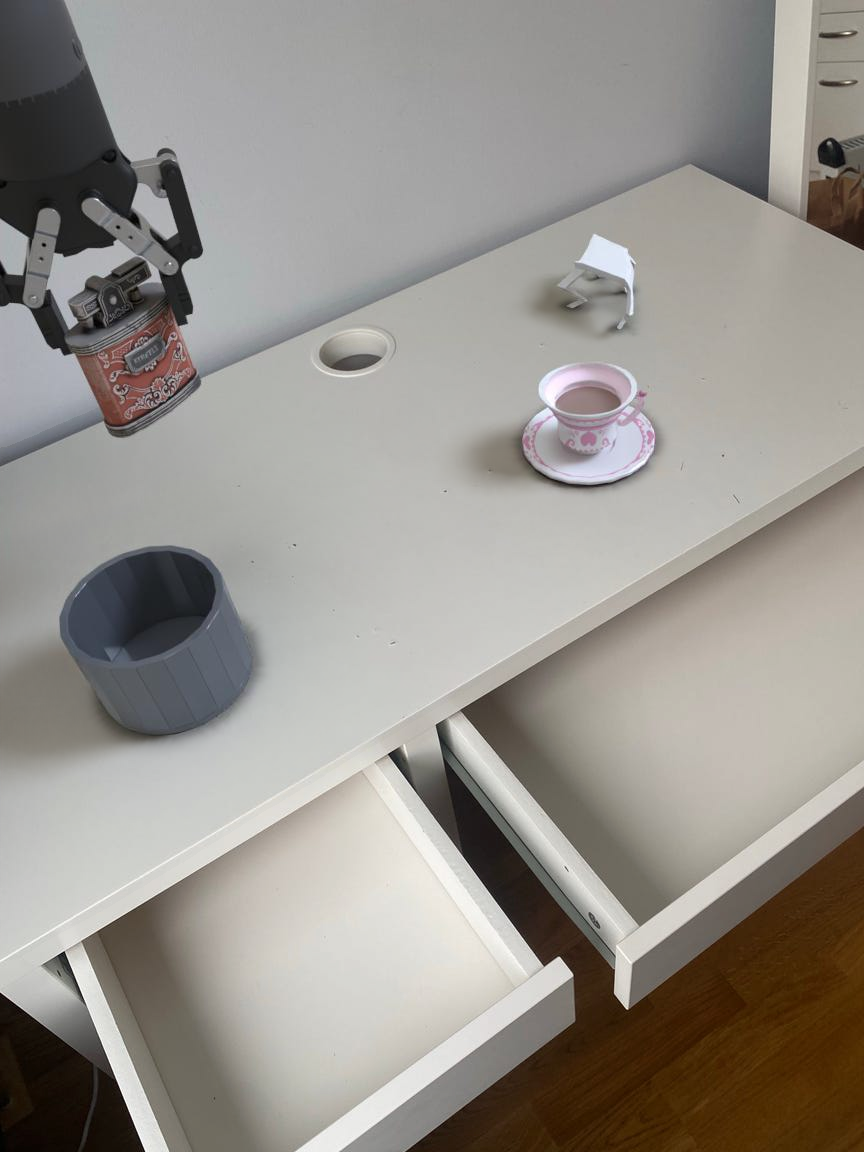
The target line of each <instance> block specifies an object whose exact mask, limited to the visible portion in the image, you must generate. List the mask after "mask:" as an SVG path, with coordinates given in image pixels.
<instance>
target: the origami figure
mask: <svg viewBox="0 0 864 1152" xmlns="http://www.w3.org/2000/svg"><path fill="white" fill-rule="evenodd" d="M573 264H574V267H575V269H573V270H572V271H571V272H570V273H569V274H567V275H566V276H565V277H564V278H563V279H562V280H561V281H559V283H558V284H556V287H557V288H560V289H562V291H565V292H567V293H569V294H571V295H572V296H574V297H576V298H577V299H578V300H575V301H574V302H571V303H569V304H567V305H566V307H567V308H570V309H574V308H576V307H578V306H580V305H582V304H584V303H586V302H588V299H587V298H585V297H584V296H583V295H581V294H580V293H579V292H577V291H576V290H574V288H572V287H570V286H571V285H572V284H573V283H575V282H576V281H577V280H578V279H580V278H581V277H582V276H583V275H584V274H586V273H587V272H589V273H591V274H594V275H596V276H597V277H598V278H604V279H607V280H610V281H612V282H614V283H618V284H620V285H621V288H622V291H623V292H624V293H626V294H627V296H626V298H627V299H626V308H625V309H626V310H625V312H626V313H625V314H624V316H623V318H622V319H621V320H620V322H618V325H617V326H616V329H618V330H621V329H623V327H624V326H625V323H626V322H627V320H628V318H630V317H631V316H632V315H634V278H635V268H636V266H637V263H636V261H635V260H634V259H633V258H632V257H631V255H630V254H629V249H628V247H625V246H622V245H620V244H617V243H615V242H612V241H611V240H608V239H606V238H604V237H601V236H599V235H598V234H596V233H593V234H592V237H591V239H590V241H589V244H588V246H587V248H586V250H585V251H584V253H583V254H582V256H581V258H580V259H579V260H575V261H573ZM626 287H627V288H626Z"/></svg>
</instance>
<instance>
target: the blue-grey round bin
mask: <svg viewBox="0 0 864 1152" xmlns="http://www.w3.org/2000/svg"><path fill="white" fill-rule="evenodd" d="M63 603H64V604H63V606H62V609H61V611H60V613H59V614H60V615H59V621H58V622H59V636H60V639H61V641H62V642H63V644H64V646H65V648H66V649H67V651H68V653H69V655H70V656H71V657H72V659H73V660H74V662H75V664H76V665H77V667H78V668H79V670H80V672H81V673H82V675H83V676H84V678H85V679H86V680H87V682H88V684H89V685H90V687H91V688H92V690H93V692H94V693H95V695H96V696H97V698H98V699H99V700H100V702H101V703H102V705H103V707H104V708H105V710H106V712H107V713H108V714H109V715H110V716H111V717H112V718H113V720H115V722H117V723H118V724H119V725H121V726H123V727H124V728H126V729H128V730H131V731H134V732H136V733H140V734H145V735H154V736H157V735H172V734H178V733H182V732H186V731H189V730H192V729H195V728H197V727H199V726H202V725H203V724H206V723H209V721H212V720H213V719H214V718H217V717H218V716H219V715H220V714H221V713H223V712H224V711H225V710H226V709H227V708H229V707H230V706H232V704H233V703H234V702H235V701H236V699H237V698H238V697H239V696H240V694H241V693H242V692H243V690H244V688H245V687H246V685H247V683H248V681H249V678H250V675H251V671H252V667H253V651H252V647H251V644H250V642H249V637H248V634H247V633H246V630H245V628H244V625H243V623H242V620H241V618H240V616H239V613H238V611H237V608H236V606H235V604H234V601H233V598H232V596H231V594H230V592H229V589H228V587H227V584H226V582H225V579H224V577H223V575H222V572H221V571H220V570H219V568H218V567H217V566H216V564H215V563H214V562H213V561H212V559H211V558H210V557H208V556H205V555H203V554H202V553H200V552H198V551H196V549H195V550H194V549H192V548H188V547H182V546H176V545H174V544H173V545H167V544H166V545H151V546H143V547H140V548H137V549H134V550H130V551H129V550H128V551H126V552H123V553H120V554H118V555H116V556H114V557H113V558H110V559H109V560H106V561H104V562H103V563H100V564H99V565H98V566H96V567H95V568H94V569H93V570H91V571H90V572H88V573H87V574H86V575H85V576H83V577H82V578H81V579H80V580H79V581H78V583H77V584H76V585H75V587H74V588H73V589H72V591H70V593H69V594H68V596H67V597H66V599H65V601H64V602H63Z"/></svg>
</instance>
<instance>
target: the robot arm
mask: <svg viewBox="0 0 864 1152" xmlns="http://www.w3.org/2000/svg"><path fill="white" fill-rule="evenodd" d="M93 77H94V76H93V74H92V72H91V69H90V66H89V63H88V60H87V57H86V55H85V53H84V49H83V44H82V42H81V39H80V38H79V36H78V33H77V31H76V27H75V25H74V22H73V19H72V16H71V14H70V11H69V9H68V6H67V4H66V2H65V0H0V220H1V221H3V222H4V223H6V224H7V225H9V226H10V227H12V228H13V229H15V230H16V231H17V232H19V233H20V234H22V235H23V236H25V237H26V238H27V240H26V249H25V257H24V263H23V264H24V265H23V270H22V274H14V273H13V274H11V273H8V272H7V270H6V268H5V265H4V264H3V262H2V261H1V260H0V308H2V307H7V306H8V305H9V304H19V305H22V306H25V307H26V308H27V309H29V311H30V312H31V314H32V317H33V319H34V321H35V322H36V325H37V327H38V328H39V330H40V333H41V335H42V336H43V339H44V341H45V343H46V345H47V346H49V348H51V349H52V350H57V349H60V352H61V353H62V355H63V357H66V356H69V355H75V354H74V353H72V352H71V351H70V349H69V347H68V345H67V343H66V341H65V338H64V337H65V334H66V333H67V332H68V331H69V330H70V328H69V326H68V324H67V322H66V320H65V318H64V315H63V314H62V311H61V309H60V307H59V305H58V302H57V300H56V299H55V297H54V294H53V292H52V290H51V288H48V287H47V286H48V282H49V279H50V276H51V271H52V266H53V262H54V261H53V260H54V255H55V254H58V255H62V257H63V258H68V257H73V256H76V255H78V254H80V253H82V252H84V251H86V250H88V249H106V248H109V247H113V246H115V242H116V241H117V240H118V241H120V243H122V244H123V245H124V246H125V247H127V249H129V250H130V251H132V252H133V254H135V255H136V256H138V257H142V258H143V259H144V260H146V261H147V262H149V263H150V264H151V265H152V266H153V267H155V269H157V270H158V274H159V279H160V283H162V285H163V287H164V290H165V293H166V295H167V298H168V301H169V304H170V306H171V309H172V312H173V314H174V317H175V320H176V323H177V325H178V326H179V327H181V326H182V327H183V326H185V325H189V321H188V318H187V316H189V315H193V313H194V304H193V300H192V297H191V293H190V290H189V287H188V285H187V282H186V279H185V275H184V273H183V271H182V269H183V266H184V265H185V264H186V263H187V262H188V261H190V260H197V259H199V258H201V256H202V255H203V254H204V247H203V244H202V241H201V237H200V233H199V229H198V226H197V223H196V219H195V215H194V212H193V209H192V205H191V200H190V198H189V194H188V191H187V187H186V183H185V180H184V177H183V173H182V170H181V166H180V164H179V160H178V157H177V154H176V153H175V151H174V150H173V149H171V148H168V147H163V148H161V149H159V150H158V151H157V153H156V155H155V157H152V158H147V159H142V160H135V161H131V160H130V158H129V157H127V156H126V155H125V154H124V153H123V152H122V150H121V148H120V147H119V145H118V142H117V141H116V138H115V135H114V133H113V132H114V131H113V129H112V127H111V124H110V121H109V119H108V116H107V113H106V110H105V107H104V105H103V103H102V99H101V97H100V93H99V91H98V88H97V86H96V83H95V80H94V78H93ZM138 184H143V185H146V186H147V187H149V188H150V190H151V193H152V194H153V195H154V196H155V197H156V198H159V199H167V200H168V204H169V207H170V210H171V214H172V216H173V221H174V222H175V228H176V230H177V232H176V233H175V234H174V235H172V236H170V237H169V238H167V237H165V236H164V235H163V234H162V233H160V232H159V230H157V229H156V228H155V227H154V226H152V225H151V224H150V222H149V221H148V220H147V218H145V216H144V215H143V214H141V213H140V212H139V211H138V210H137V209H135V208H134V206H133V203H134V199H135V196H136V193H137V190H138ZM47 288H48V289H47Z"/></svg>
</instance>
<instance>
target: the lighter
mask: <svg viewBox="0 0 864 1152" xmlns="http://www.w3.org/2000/svg"><path fill="white" fill-rule="evenodd" d="M152 274H153V273H152V272H151V269H150V266H149V264H148V260H146V259H145V258H144V257H142V256H138V255H136V256H133V257H132V258H131V257H130V259H128V260H127V261H125V262H124V263H122V264H119V266H117V267H115V268H113V269H111V271H110V273H109V274H108V275H106V276H105V277H101V276H98V275H96V274H94V275H91V276H89V277H88V278H87V279H86V280H85V282H84V288H83V290H81V291H80V292H79V293H77V294H75V295H74V296H72V297H70V298H69V299H68V300H67V305H68V307H69V309H70V311H71V314H72V316H73V317H74V318H75V319H76V321H77V322H76V323H75V324H74V325H73V327H71V328H69V331H68V332H67V333H66V334H65V337H64V338H65V341H66V343H67V345H68V347H69V349H70V351H71V352H72V353H74V354H73V355H75V358H76V360H77V362H78V364H79V366H80V368H81V371H82V372H83V374H84V377H85V379H86V381H87V383H88V386H89V388H90V390H91V392H92V394H93V396H94V398H95V400H96V403H97V404H98V407H99V408H100V411H101V413H102V415H103V419H102V422H103V424H104V425H105V428H106V430H107V432H108V434H109V435H110V436H111V437H114V438H118V439H127V438H130V437H131V438H132V437H134V436H136V435H138V434H139V433H140V432H143V431H145V430H146V429H148V428H150V427H151V426H153V425H155V424H156V423H158V422H159V421H161V420H162V419H164V418H165V417H167V416H169V415H170V414H172V413H173V412H174V411H175V410H177V409H178V408H179V407H180V406H181V405H182V404H184V403H185V402H187V401H188V400H189V398H191V397H192V395H193V394H194V393H196V392H197V391H198V390H199V389H200V387H201V386H202V378H201V376H200V373H199V371H198V369H197V367H195V366H194V364H193V361H192V358H191V355H190V353H189V350H188V347H187V345H186V342H185V339H184V337H183V334H182V331H181V328H180V326H178V325H177V323H176V320H175V317H174V314H173V312H172V309H171V306H170V304H169V301H168V298H167V295H166V293H165V290H164V287H163V285H162V282H156V281H151V282H146V281H147V280H149V279H151V278H152V276H153V275H152ZM144 282H146V283H144Z"/></svg>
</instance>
